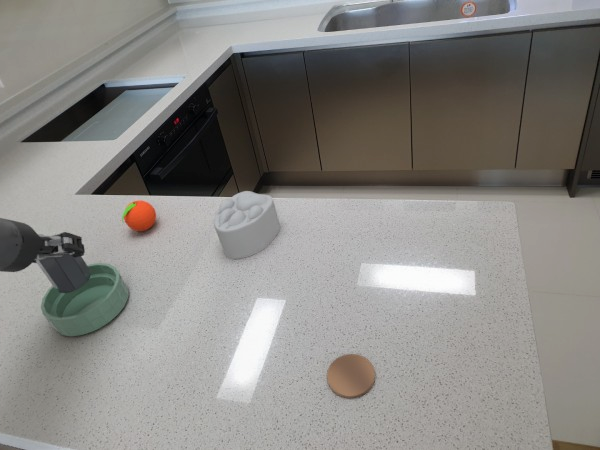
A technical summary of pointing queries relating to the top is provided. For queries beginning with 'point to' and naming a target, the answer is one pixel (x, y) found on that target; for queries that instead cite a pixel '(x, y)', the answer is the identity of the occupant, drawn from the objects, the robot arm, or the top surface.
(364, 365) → the coaster
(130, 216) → the clementine
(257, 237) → the lumpy-topped squat cylinder
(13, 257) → the robot arm
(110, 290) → the bowl
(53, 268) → the cup
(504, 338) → the top surface
